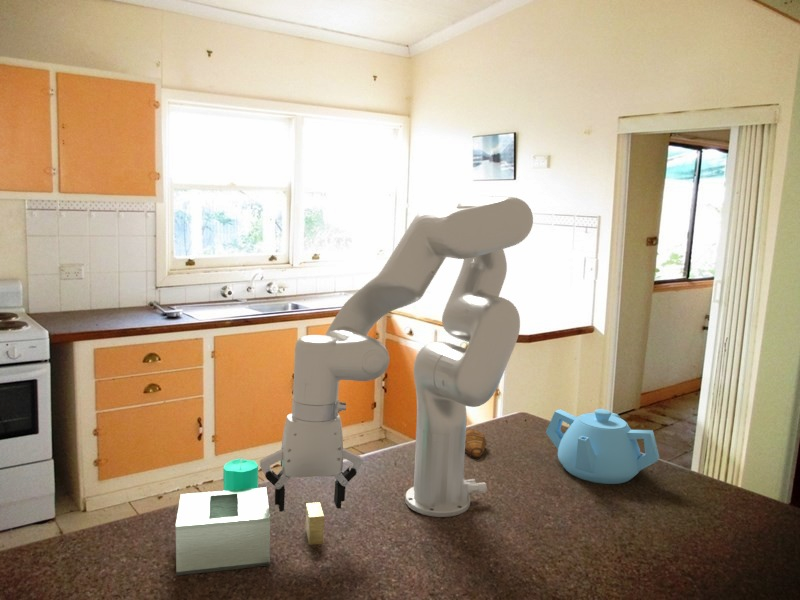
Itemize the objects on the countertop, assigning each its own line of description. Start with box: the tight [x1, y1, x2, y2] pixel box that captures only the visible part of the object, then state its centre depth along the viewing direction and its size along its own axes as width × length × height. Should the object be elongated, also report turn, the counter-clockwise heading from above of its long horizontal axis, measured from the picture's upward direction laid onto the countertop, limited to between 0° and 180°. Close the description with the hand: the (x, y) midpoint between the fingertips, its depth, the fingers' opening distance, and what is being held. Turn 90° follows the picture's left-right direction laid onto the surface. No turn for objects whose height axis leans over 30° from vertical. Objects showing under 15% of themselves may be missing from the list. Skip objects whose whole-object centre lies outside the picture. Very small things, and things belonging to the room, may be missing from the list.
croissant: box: [465, 429, 487, 459], centre depth 153 cm, size 14×7×5 cm, turn 5°
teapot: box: [545, 408, 660, 485], centre depth 142 cm, size 19×19×14 cm
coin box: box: [175, 486, 271, 576], centre depth 104 cm, size 14×11×8 cm
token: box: [305, 502, 325, 546], centre depth 110 cm, size 2×5×5 cm, turn 15°
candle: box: [223, 458, 259, 491], centre depth 114 cm, size 6×6×12 cm
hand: (309, 506), depth 109 cm, fingers open, 9 cm apart
